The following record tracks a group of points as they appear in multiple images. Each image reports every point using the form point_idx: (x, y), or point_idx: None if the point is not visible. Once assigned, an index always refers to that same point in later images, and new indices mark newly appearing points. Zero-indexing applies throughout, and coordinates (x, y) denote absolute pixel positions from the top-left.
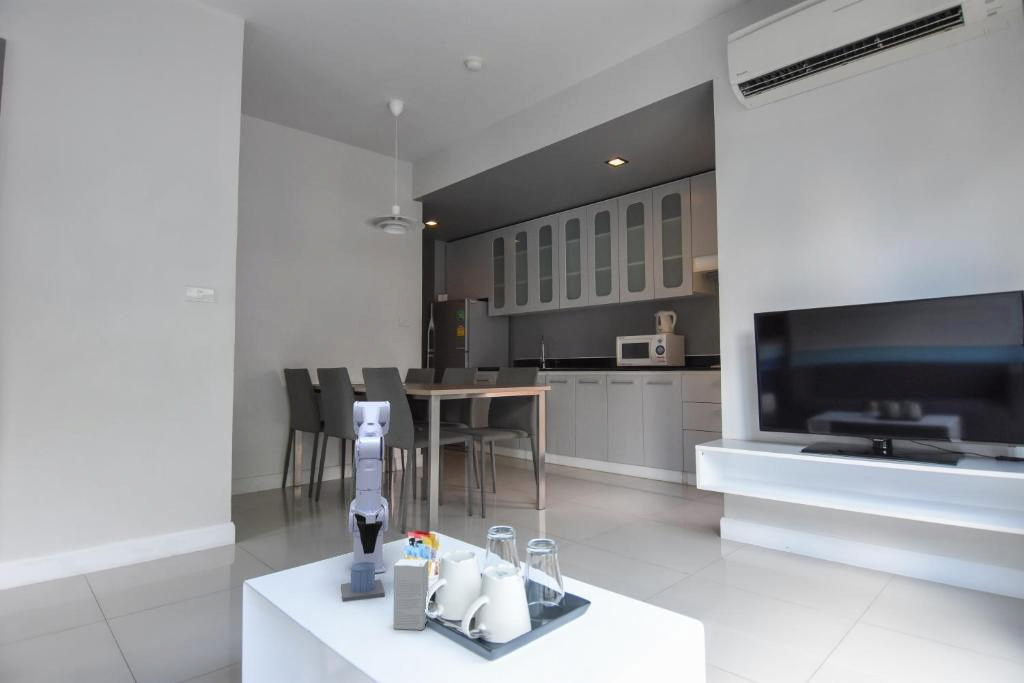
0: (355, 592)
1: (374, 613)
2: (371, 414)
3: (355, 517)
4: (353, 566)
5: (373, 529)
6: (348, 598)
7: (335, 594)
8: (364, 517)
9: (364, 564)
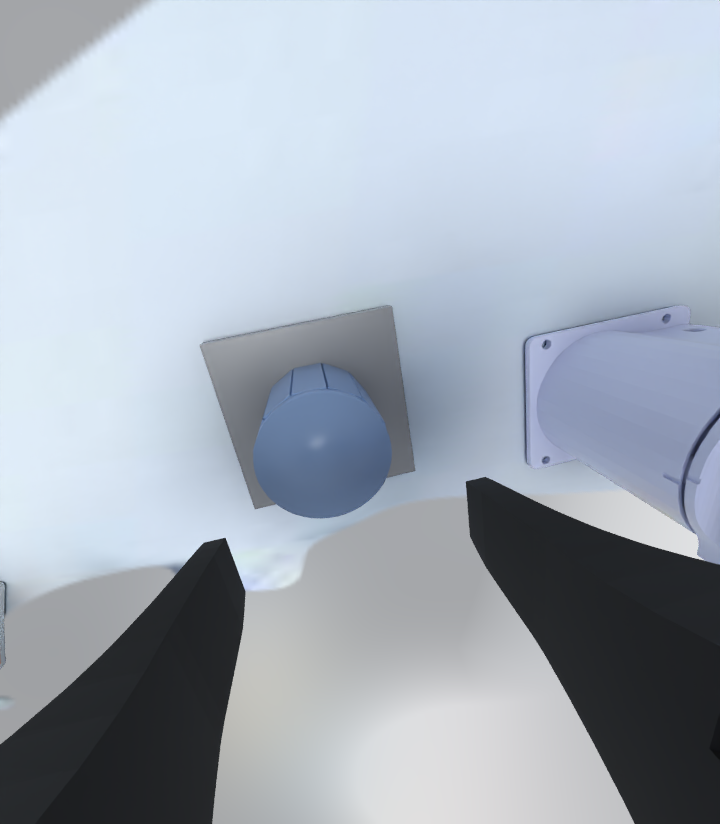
0: (266, 392)
1: (71, 490)
2: None
3: (711, 641)
4: (312, 407)
5: None
6: (209, 369)
7: (302, 293)
8: (675, 735)
9: (345, 463)
